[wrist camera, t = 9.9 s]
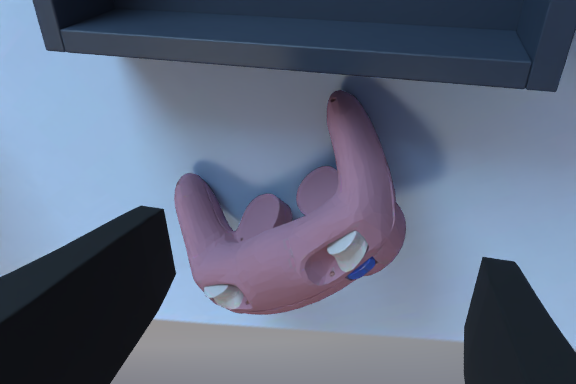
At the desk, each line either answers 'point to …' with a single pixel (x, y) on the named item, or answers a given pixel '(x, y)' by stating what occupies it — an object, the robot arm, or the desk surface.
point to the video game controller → (298, 227)
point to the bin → (330, 36)
